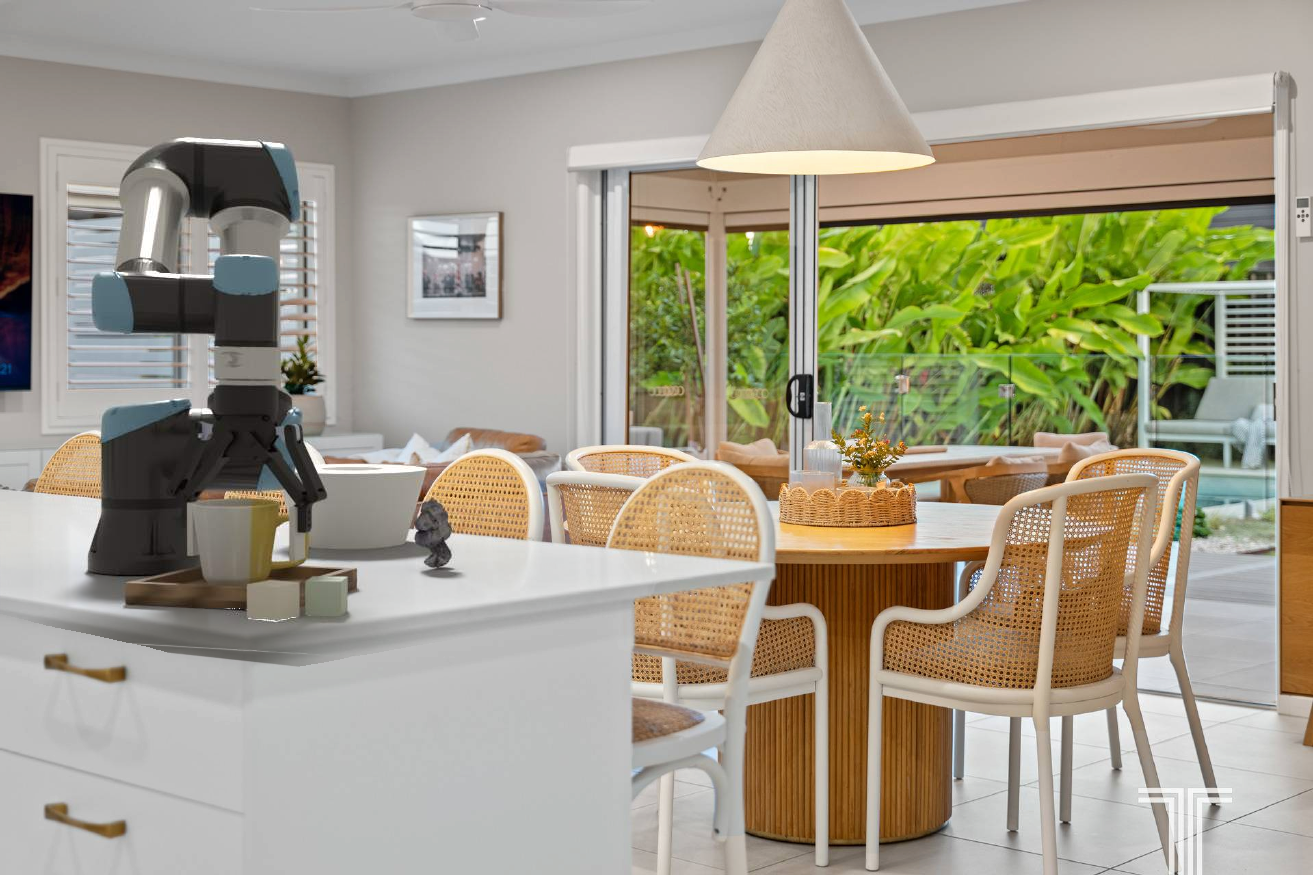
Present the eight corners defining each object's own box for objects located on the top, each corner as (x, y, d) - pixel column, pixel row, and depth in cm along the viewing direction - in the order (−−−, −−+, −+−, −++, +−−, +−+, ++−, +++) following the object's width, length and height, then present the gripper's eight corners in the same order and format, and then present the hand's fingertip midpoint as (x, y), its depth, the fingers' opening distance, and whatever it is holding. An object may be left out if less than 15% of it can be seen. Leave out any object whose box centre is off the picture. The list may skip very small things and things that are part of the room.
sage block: (305, 616, 162) (305, 581, 162) (312, 611, 166) (312, 576, 166) (341, 616, 162) (341, 581, 162) (347, 611, 166) (347, 576, 166)
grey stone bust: (445, 571, 201) (445, 499, 200) (408, 569, 202) (408, 498, 202) (457, 566, 206) (458, 496, 206) (422, 564, 207) (422, 495, 207)
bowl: (415, 552, 222) (415, 474, 221) (258, 550, 222) (258, 472, 221) (436, 535, 246) (436, 465, 245) (294, 534, 246) (294, 463, 245)
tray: (125, 603, 169) (125, 582, 169) (214, 580, 188) (214, 561, 188) (282, 612, 165) (282, 590, 164) (356, 587, 184) (357, 568, 184)
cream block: (246, 620, 159) (246, 584, 159) (270, 615, 163) (270, 579, 163) (276, 623, 158) (276, 586, 158) (299, 617, 161) (299, 582, 161)
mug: (184, 593, 171) (184, 505, 170) (200, 581, 181) (200, 498, 180) (302, 592, 172) (302, 505, 172) (312, 581, 183) (312, 498, 182)
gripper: (136, 381, 175) (137, 556, 176) (327, 385, 169) (326, 565, 170) (170, 380, 182) (171, 548, 183) (354, 384, 176) (353, 557, 178)
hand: (246, 557), depth 177 cm, fingers open, 13 cm apart
